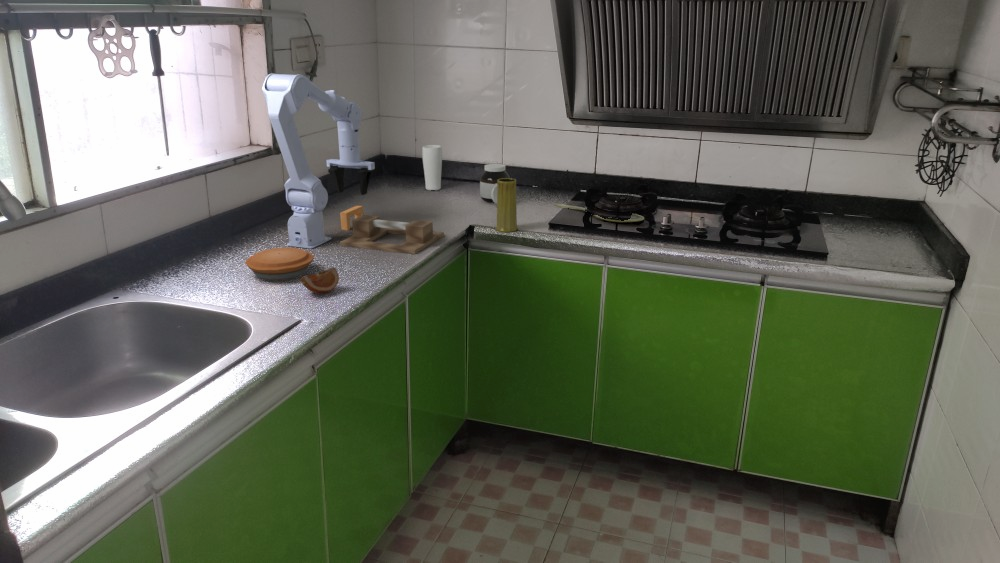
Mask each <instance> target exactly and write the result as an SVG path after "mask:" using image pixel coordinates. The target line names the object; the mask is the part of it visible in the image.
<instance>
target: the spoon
mask: <svg viewBox="0 0 1000 563" xmlns="http://www.w3.org/2000/svg"><path fill="white" fill-rule="evenodd" d="M555 207H559V208H562V209H568V208H569V209H571V210H579V211H584V212H586V211H585V208H586V207H581V206H576V205H571V204H564V203H555ZM592 216H594V217H595V218H597V219H600V220H602V221H605V222H610V223H633V222H642V221H645V217H644V216H642V215H639V214H637V213H632V215H631V218H630V219H628V220H624V221H621V220H620V219H619V220H617V219H611V218H606V219H604V218H602V217H600V216H598V215H592Z"/></svg>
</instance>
